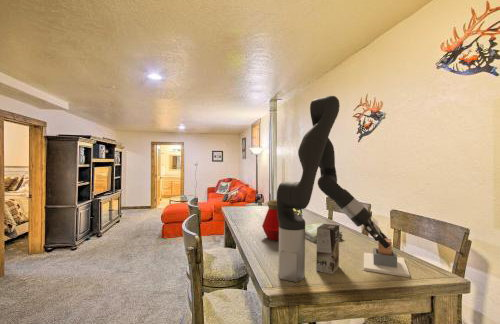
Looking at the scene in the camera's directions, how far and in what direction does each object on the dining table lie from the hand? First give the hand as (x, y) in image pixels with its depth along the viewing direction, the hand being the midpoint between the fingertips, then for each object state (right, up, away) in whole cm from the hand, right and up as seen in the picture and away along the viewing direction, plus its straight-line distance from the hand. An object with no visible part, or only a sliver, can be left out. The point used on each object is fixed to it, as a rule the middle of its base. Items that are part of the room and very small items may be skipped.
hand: (387, 243), depth 106 cm
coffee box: (-24, -9, -3) cm, 26 cm away
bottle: (-40, -8, +35) cm, 54 cm away
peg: (-1, -8, +1) cm, 8 cm away
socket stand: (-1, -9, +1) cm, 9 cm away
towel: (-17, -9, +41) cm, 46 cm away
